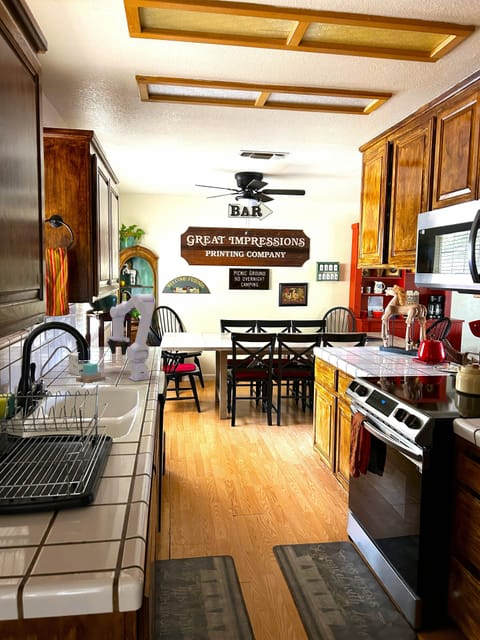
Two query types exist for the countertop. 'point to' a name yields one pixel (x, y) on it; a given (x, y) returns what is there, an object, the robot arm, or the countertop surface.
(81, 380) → the walnut base slab
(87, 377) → the grey middle slab
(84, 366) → the teal block
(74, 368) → the light bulb box
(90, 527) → the countertop surface
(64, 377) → the countertop surface
